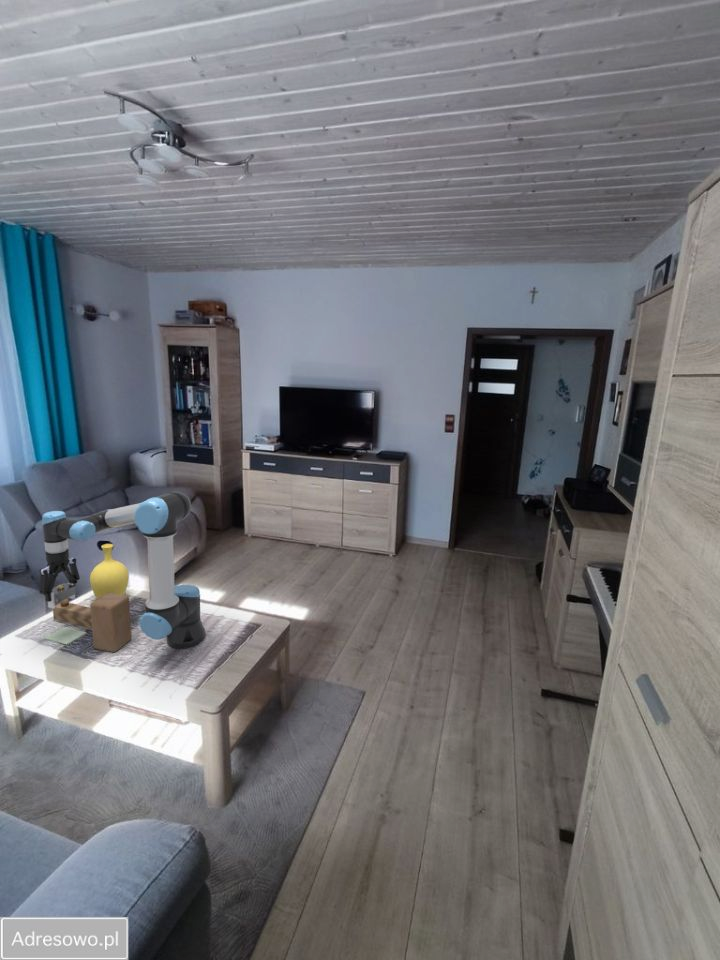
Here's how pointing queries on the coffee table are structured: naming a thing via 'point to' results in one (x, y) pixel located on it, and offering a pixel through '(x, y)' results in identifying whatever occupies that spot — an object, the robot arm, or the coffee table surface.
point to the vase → (109, 575)
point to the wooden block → (111, 622)
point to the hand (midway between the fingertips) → (62, 602)
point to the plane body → (73, 614)
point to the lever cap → (63, 591)
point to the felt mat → (65, 635)
